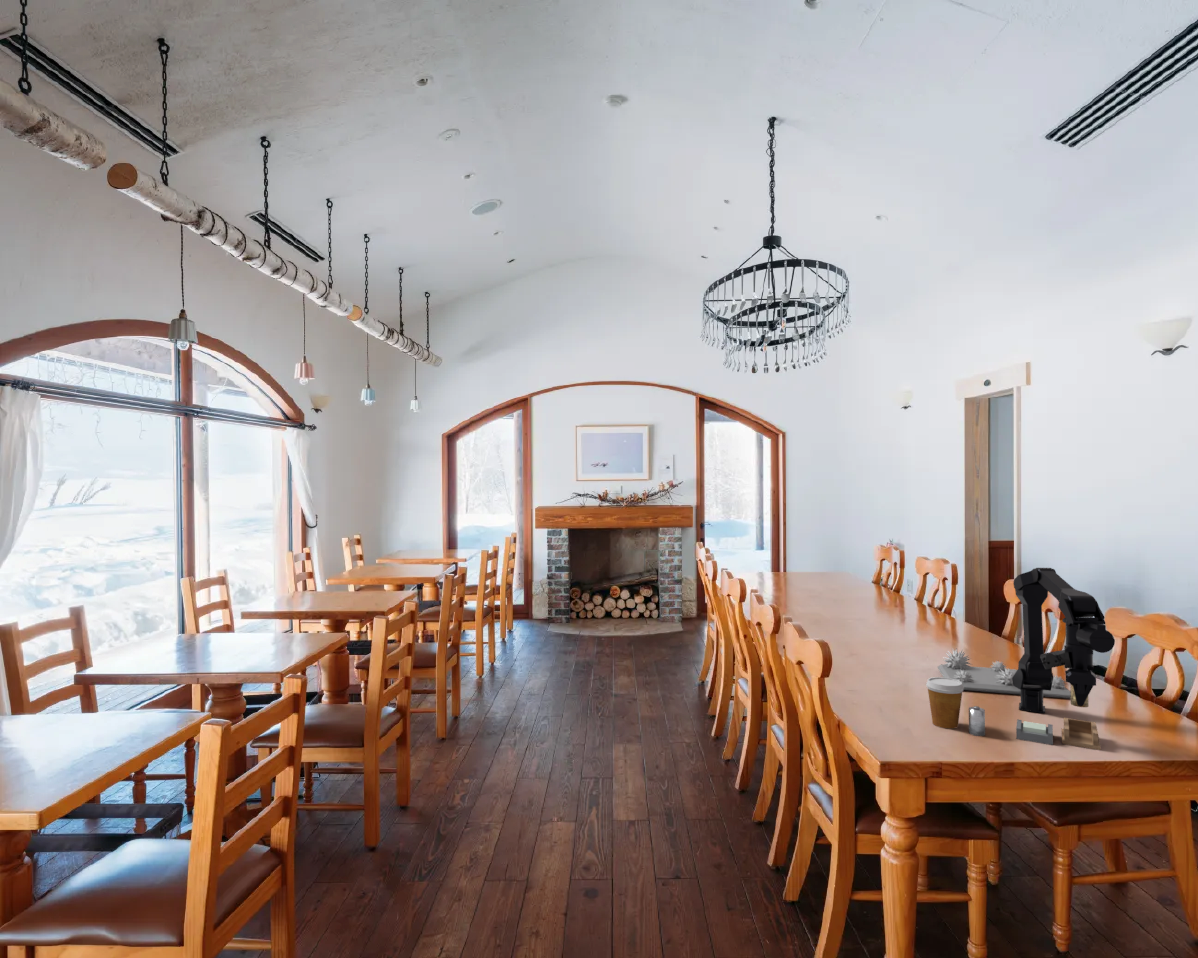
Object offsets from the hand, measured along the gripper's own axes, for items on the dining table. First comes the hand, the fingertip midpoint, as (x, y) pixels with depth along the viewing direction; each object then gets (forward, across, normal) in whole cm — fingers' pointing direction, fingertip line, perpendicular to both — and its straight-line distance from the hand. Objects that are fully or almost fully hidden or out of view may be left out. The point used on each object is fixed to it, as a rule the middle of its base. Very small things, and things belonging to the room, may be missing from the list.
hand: (1079, 703), depth 180 cm
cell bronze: (0, 0, 0) cm, 0 cm away
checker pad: (+8, +3, -10) cm, 13 cm away
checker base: (+10, +3, -10) cm, 14 cm away
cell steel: (+10, +8, -23) cm, 26 cm away
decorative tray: (+10, -48, -20) cm, 53 cm away
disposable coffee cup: (+10, +5, -31) cm, 33 cm away
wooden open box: (+10, 0, 0) cm, 10 cm away
